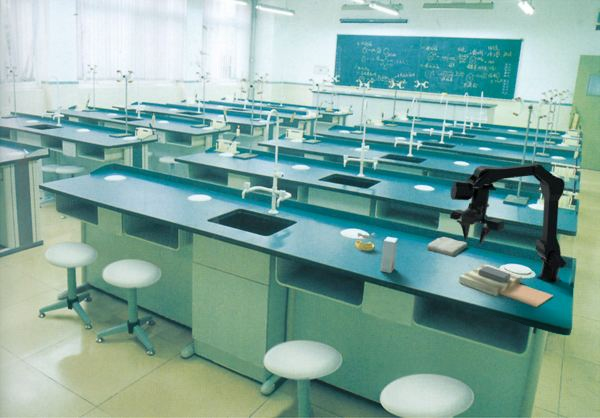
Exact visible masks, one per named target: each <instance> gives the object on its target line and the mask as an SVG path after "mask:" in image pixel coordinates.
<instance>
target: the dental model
mask: <svg viewBox="0 0 600 418" xmlns="http://www.w3.org/2000/svg"><path fill="white" fill-rule="evenodd" d="M356 234H357V237H358V238H360V237H362V238H363V239H365V240H366V239H369V238H370V237H372V238H373V239H374V238H375V235H376V233H375V232H372V233H371V234H369V235H367V234H366V235H365V234H362V233H361V232H358V233H356ZM354 247H355V248H357V249H358V250H361V251H374V247H375V245H374V243H372V242H371V241H369V242H363V241H361V240H360V239H359V240H358V239H357V240H356V241H355V243H354Z"/></svg>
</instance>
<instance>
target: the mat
mask: <svg viewBox="0 0 600 418" xmlns="http://www.w3.org/2000/svg"><path fill="white" fill-rule="evenodd" d="M499 295H502V296H504V297H508V298H510V299H513V300H515V301H518V302H521V303H524V304H525V305H526V304H527V305H528V306H532V307H535V308H537V307H539V306H541V305H542V304H544V303H546V302H547V301H548V300H550V299H551V298H553V296H554V295H553V294H550V293H548V292H545V291H541V290H538V289H535V288H532V287H530V286H526V285H524V284H521V283H519V284H518V283H517V284H515V285H514V286H512V287H510V288H508V289H506V290H504V291H503V292H501V293H500V294H499Z"/></svg>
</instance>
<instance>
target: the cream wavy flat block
mask: <svg viewBox="0 0 600 418" xmlns="http://www.w3.org/2000/svg"><path fill="white" fill-rule="evenodd" d="M486 266H488V267H491V268H494V269H497V270H500V271H503V272H506V273H509V274H511V275H510V279H509V280H507V281H505V282H503V283H501V282H498V281H495V280H492V279H489V278H486V277H483V276H480V275H478V274H479V270H480V269H482V268H484V267H486ZM522 278H523V276H522V275H520V274H518V273H514V272H511V271H508V270H504V269H501V268H498V267H495V266H493V265H489V264H484V265H481V266H479V267H477V268H475V269H473V270H469V271H468V272H466V273H464V274H461V275H460V276H459V280H458V283H460V284H462V285H465V286H467V287H470V288H473V289H476V290H478V291H481V292H484V293H486V294H489V295H492V296H494V297H497V296H499V295H501V294H500V293H501V292H503V291H504V290H506V289H508V288H510V287H512V286H514V285H515V284H517V283H518V284H521V283H522Z"/></svg>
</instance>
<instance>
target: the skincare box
mask: <svg viewBox="0 0 600 418" xmlns="http://www.w3.org/2000/svg"><path fill="white" fill-rule="evenodd" d="M398 240H399V239H398V237H390V236H387V237H386V238H385V239H383V244H382V245H383V247H382V253H381V260H380V261H381V262H380V268H379V270H380V272H382V273H383V272H385V273H389V274H390V273H392V272H393V270H394V268H395V264H396V263H395V262H396V256H397V247H398Z"/></svg>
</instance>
